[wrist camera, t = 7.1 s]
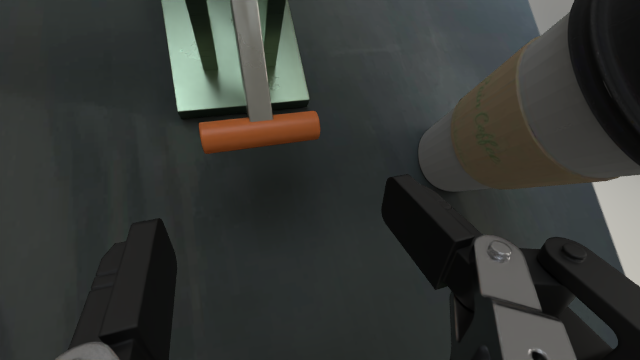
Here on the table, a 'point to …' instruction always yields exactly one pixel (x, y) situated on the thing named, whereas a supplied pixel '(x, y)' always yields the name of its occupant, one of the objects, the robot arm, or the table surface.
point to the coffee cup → (548, 109)
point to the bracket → (228, 57)
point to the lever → (255, 97)
